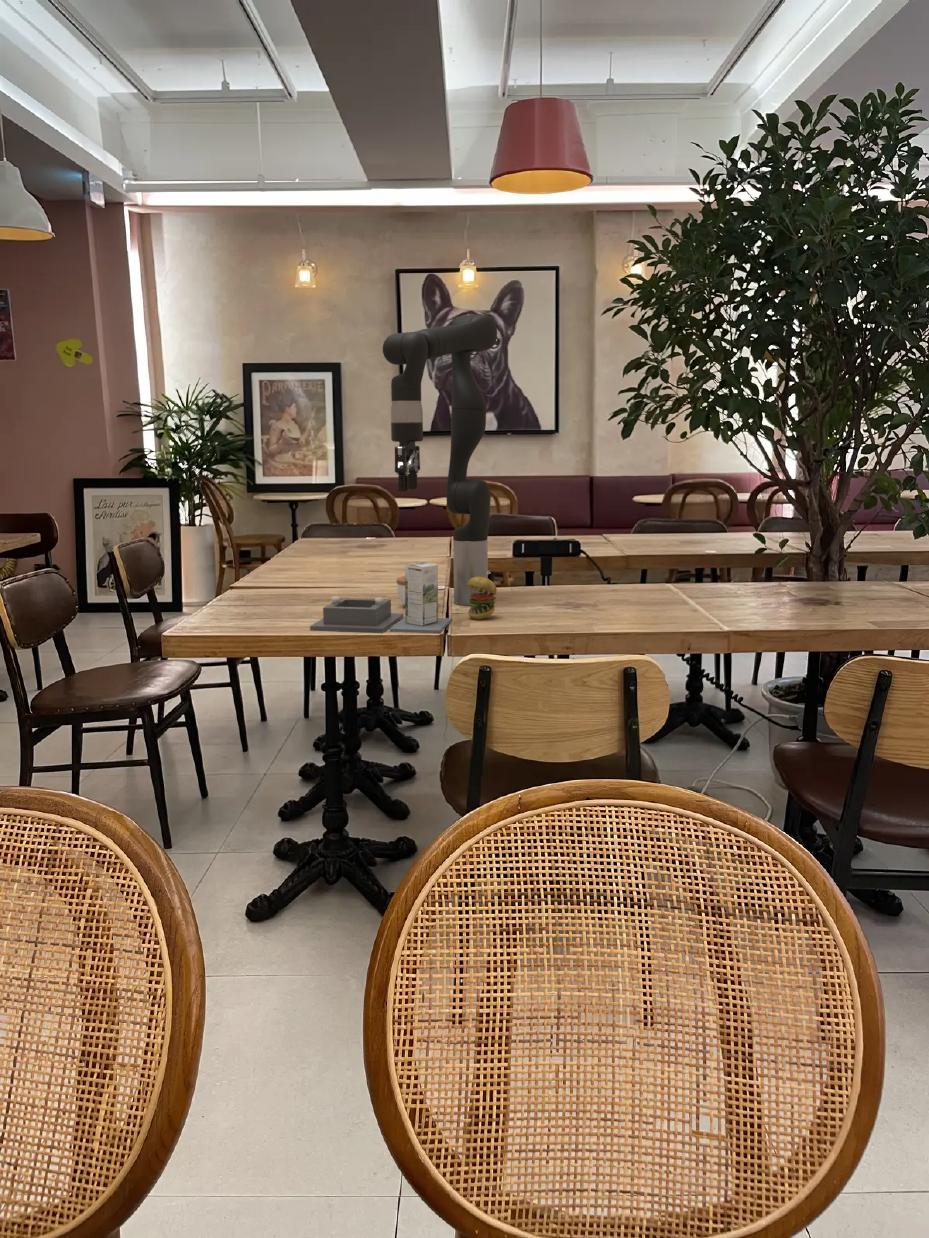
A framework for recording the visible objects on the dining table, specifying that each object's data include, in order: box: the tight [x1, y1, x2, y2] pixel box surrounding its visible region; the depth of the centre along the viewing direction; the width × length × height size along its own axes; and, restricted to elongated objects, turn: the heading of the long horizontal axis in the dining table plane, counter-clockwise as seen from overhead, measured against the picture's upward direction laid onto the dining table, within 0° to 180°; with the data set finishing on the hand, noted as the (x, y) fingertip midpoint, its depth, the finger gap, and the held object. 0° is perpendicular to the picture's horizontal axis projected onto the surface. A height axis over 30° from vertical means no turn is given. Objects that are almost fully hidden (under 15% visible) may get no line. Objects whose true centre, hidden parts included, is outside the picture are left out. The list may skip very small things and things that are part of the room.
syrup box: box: [404, 561, 439, 626], centre depth 216 cm, size 6×6×14 cm
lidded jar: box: [396, 575, 405, 606], centre depth 240 cm, size 11×11×9 cm
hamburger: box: [467, 569, 498, 621], centre depth 225 cm, size 8×7×12 cm
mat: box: [389, 616, 453, 634], centre depth 217 cm, size 14×12×1 cm
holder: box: [309, 595, 405, 634], centre depth 220 cm, size 18×18×6 cm
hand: (408, 490), depth 216 cm, fingers open, 8 cm apart
